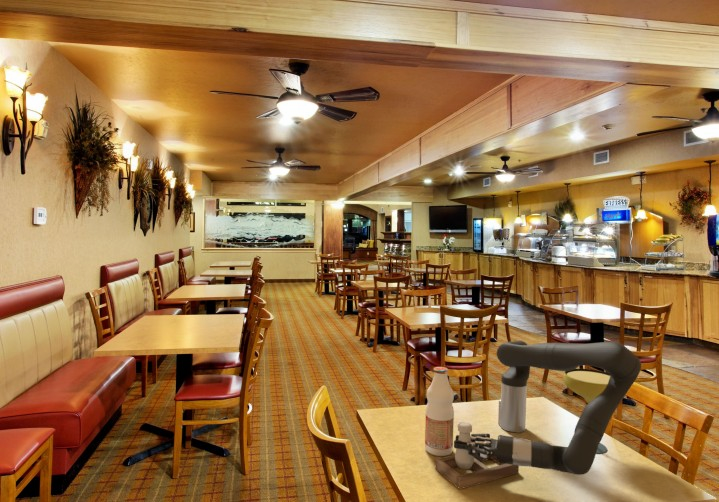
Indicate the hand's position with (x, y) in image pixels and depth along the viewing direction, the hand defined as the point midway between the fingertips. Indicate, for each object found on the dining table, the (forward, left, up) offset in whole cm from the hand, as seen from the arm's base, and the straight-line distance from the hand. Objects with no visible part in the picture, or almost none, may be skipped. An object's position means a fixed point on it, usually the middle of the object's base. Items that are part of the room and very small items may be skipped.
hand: (455, 441), depth 137 cm
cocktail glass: (+4, +55, -10) cm, 56 cm away
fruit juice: (-14, +4, -10) cm, 18 cm away
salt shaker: (+2, +2, -7) cm, 8 cm away
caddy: (+2, +7, -10) cm, 12 cm away
